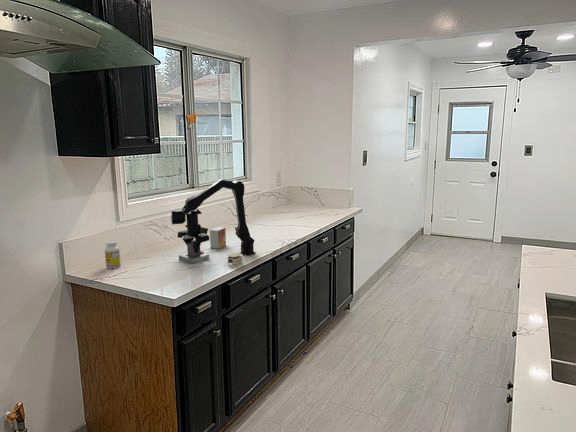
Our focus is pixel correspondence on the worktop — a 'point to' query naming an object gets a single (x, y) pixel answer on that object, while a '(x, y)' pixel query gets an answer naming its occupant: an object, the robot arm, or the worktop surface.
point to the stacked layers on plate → (235, 259)
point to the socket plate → (194, 258)
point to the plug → (192, 250)
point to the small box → (217, 237)
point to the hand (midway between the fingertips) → (194, 252)
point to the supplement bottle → (112, 255)
